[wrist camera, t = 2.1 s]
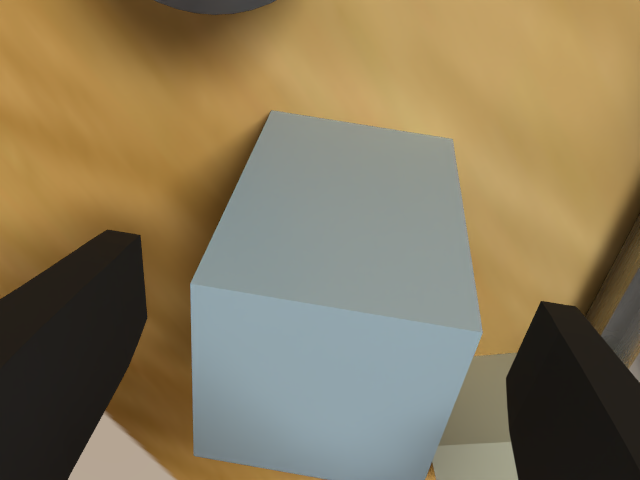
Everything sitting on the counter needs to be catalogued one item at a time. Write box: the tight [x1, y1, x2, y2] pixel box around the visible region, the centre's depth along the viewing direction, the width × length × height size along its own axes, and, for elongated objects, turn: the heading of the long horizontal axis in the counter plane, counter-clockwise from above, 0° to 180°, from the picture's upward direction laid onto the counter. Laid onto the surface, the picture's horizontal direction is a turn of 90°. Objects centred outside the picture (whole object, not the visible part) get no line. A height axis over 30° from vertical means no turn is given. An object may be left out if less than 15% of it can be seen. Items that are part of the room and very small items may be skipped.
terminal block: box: [432, 353, 518, 480], centre depth 16 cm, size 4×4×3 cm
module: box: [190, 111, 483, 480], centre depth 11 cm, size 4×4×6 cm
